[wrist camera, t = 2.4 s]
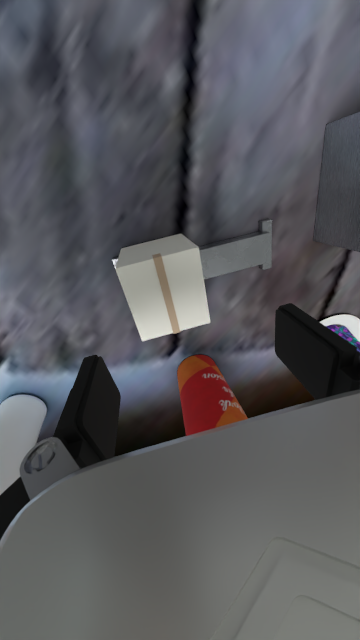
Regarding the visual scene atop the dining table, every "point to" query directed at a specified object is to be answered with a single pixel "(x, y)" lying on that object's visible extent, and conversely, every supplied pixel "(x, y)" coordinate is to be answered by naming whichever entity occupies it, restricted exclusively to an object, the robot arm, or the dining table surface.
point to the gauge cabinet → (340, 185)
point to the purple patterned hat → (355, 335)
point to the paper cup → (206, 396)
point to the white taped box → (164, 285)
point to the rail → (236, 252)
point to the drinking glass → (18, 434)
